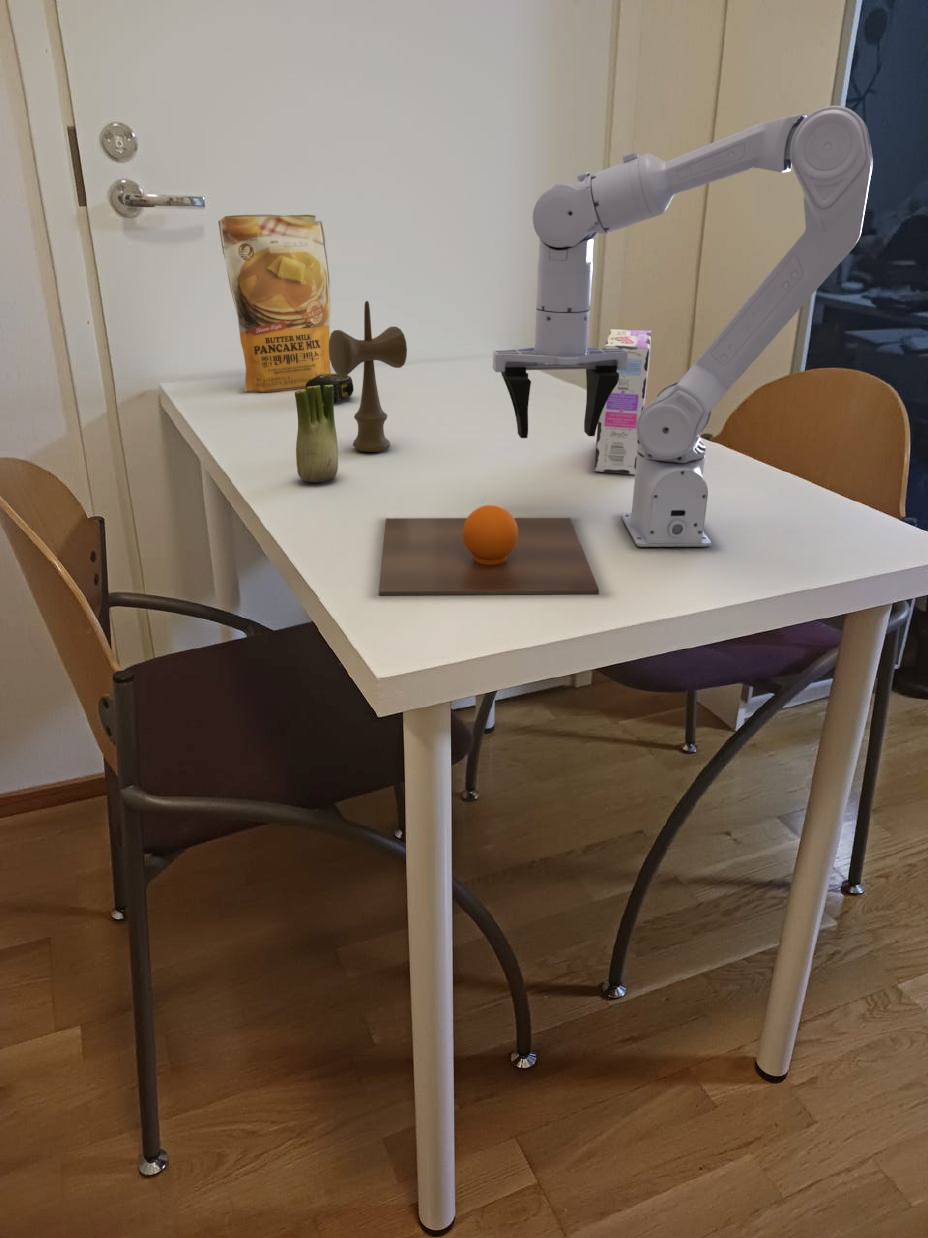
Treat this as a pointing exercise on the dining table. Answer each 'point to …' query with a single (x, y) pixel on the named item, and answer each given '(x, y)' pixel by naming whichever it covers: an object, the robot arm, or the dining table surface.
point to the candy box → (624, 404)
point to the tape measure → (334, 385)
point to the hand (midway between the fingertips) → (556, 434)
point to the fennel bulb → (316, 434)
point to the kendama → (368, 375)
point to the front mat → (443, 565)
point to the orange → (490, 534)
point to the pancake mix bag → (279, 297)
